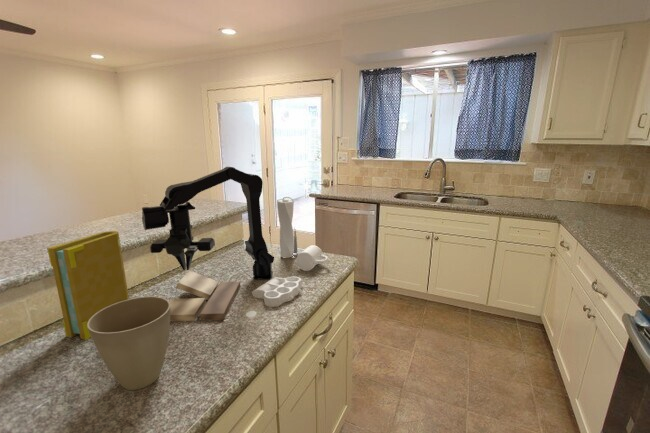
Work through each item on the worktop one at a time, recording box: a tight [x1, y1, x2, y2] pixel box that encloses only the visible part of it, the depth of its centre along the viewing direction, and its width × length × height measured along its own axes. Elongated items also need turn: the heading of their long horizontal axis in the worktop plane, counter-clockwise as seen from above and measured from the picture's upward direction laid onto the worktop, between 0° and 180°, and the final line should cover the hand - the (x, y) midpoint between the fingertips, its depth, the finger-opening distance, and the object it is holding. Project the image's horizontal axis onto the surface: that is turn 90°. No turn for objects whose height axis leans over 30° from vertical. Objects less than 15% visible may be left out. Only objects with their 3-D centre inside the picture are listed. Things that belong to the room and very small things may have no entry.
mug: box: [295, 244, 329, 272], centre depth 131 cm, size 12×10×8 cm
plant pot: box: [87, 295, 171, 391], centre depth 68 cm, size 15×15×16 cm
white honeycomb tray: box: [251, 276, 303, 308], centre depth 108 cm, size 3×18×15 cm
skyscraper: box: [276, 196, 298, 258], centre depth 142 cm, size 8×8×28 cm
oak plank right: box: [175, 269, 220, 301], centre depth 108 cm, size 11×10×2 cm
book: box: [46, 230, 130, 341], centre depth 89 cm, size 17×7×25 cm, turn 168°
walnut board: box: [197, 280, 241, 321], centre depth 103 cm, size 8×22×2 cm, turn 3°
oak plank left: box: [168, 297, 207, 322], centre depth 97 cm, size 11×10×2 cm
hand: (186, 269), depth 105 cm, fingers closed
